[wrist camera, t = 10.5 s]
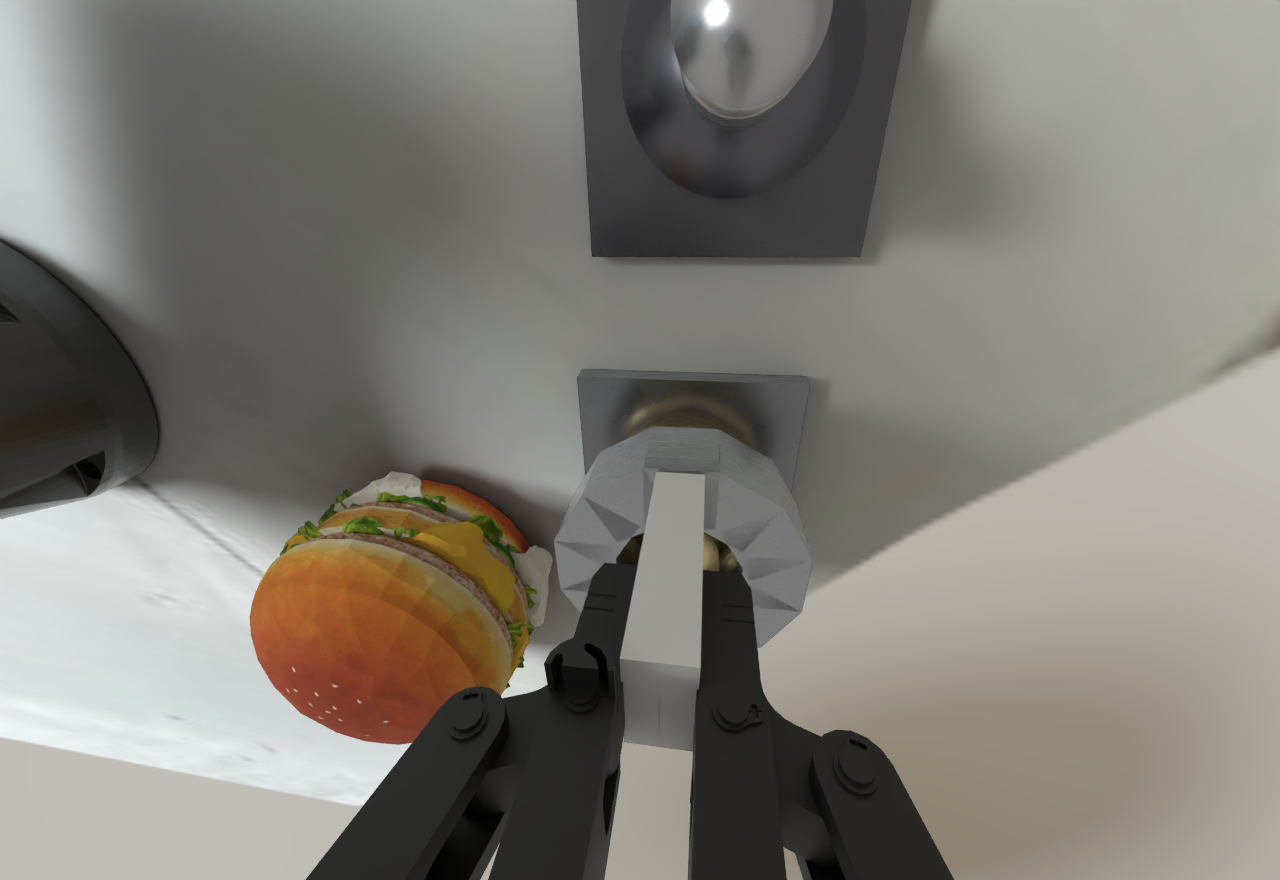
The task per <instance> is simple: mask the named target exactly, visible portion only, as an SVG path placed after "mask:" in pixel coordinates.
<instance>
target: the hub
mask: <svg viewBox="0 0 1280 880" xmlns="http://www.w3.org/2000/svg"><path fill="white" fill-rule="evenodd" d="M577 382H578V394H579V406H580V418H581V430H582V442H583V454H584V466H585V476H586V474H587V473H588V471H589V469H590V468H591V466H592V465H593V463H594V461H595V460H596V458H597V456H598V455H599V453H600V451H602V450H604V449H606V448H608V447H611V446H613V445H615V444H617V443H619V442H621V441H623V440H625V439H627V438H630V437H632V436H634V435H636V434H638V433H640V432H642V431H644V430H647V429H649V428H651V427H654V426H660V427H681V428H702V429H718V430H721V431H723V432H724V433H726V434H728V435H729V436H731V437H733V438H735V439H736V440H738V441H740V442H742V443H743V444H745V445H747V446H749V447H750V448H752V449H754V450H755V451H757V452H759V453H761V454H762V455H764V456H766V457H768V458H769V459H771V460H773V462H774V463H775V465H776V467H777V469H778V471H779V473H780V475H781V477H782V479H783V480H784V482H785V484H786V486H787V488H788V490H789V492H790V494H791V492H792V486H793V480H794V474H795V469H796V463H797V457H798V451H799V445H800V439H801V434H802V428H803V422H804V416H805V410H806V404H807V398H808V393H809V387H810V384H809V382H808V380H807V378H806V376H779V375H749V374H719V373H688V372H658V371H628V370H598V369H582V370H581V372H580V373H579V375H578V376H577ZM643 537H644V533H641V534H639V535H636V536H634V538H635V540H636V541H637V543H638V544H639V545H640V547H642V542H643ZM728 548H729V546H728V545H727V544H725V543H723V542H722V541H720V540H718V539H716V538H714V537H712V536H711V535H709V534H707V533H705V532H704V538H703V570H709V571H719V557H720V556H721V555H722V554H723V553H724V552H725V551H726V550H727V549H728ZM640 552H641V548H640ZM639 557H640V553H639ZM638 563H639V558H638Z"/></svg>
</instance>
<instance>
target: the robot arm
mask: <svg viewBox="0 0 1280 880" xmlns="http://www.w3.org/2000/svg"><path fill="white" fill-rule="evenodd" d="M157 443H158V428H157V421H156V416H155V412H154V408H153V405H152V402H151V399H150V397H149V394H148V392H147V390H146V387H145V385H144V383H143V381H142V379H141V377H140V375H139V374H138V372H137V370H136V368H135V367H134V365H133V363H132V362H131V360H130V359H129V357H128V356H127V354H126V353H125V351H124V350H123V349H122V347H121V346H120V344H119V343H118V342H117V340H116V339H115V338H114V337H113V335H112V334H111V333H110V332H109V330H108V329H107V328H106V327H105V326H104V325H103V323H102V322H101V321H100V320H99V319H98V318H97V317H96V316H95V315H94V314H93V312H92V311H91V310H90V309H89V308H88V307H87V306H86V305H85V304H84V303H83V302H82V301H81V300H79V299H78V298H77V297H76V296H75V295H74V294H73V293H72V292H71V291H70V290H69V289H67V288H66V287H65V286H64V285H63V284H62V283H60V282H59V281H58V280H57V279H55V278H54V277H53V276H52V275H50V274H49V273H48V272H46V271H45V270H44V269H42V268H41V267H40V266H38V265H37V264H35V263H34V262H32V261H31V260H29V259H28V258H26V257H25V256H23V255H22V254H20V253H18V252H17V251H15V250H14V249H12V248H10V247H8V246H7V245H5V244H3V243H1V242H0V519H2V518H7V517H11V516H15V515H20V514H24V513H28V512H33V511H37V510H41V509H46V508H50V507H54V506H59V505H63V504H67V503H72V502H76V501H80V500H85V499H87V498H90V497H93V496H96V495H99V494H101V493H103V492H105V491H107V490H109V489H111V488H113V487H115V486H117V485H119V484H121V483H123V482H125V481H127V480H129V479H131V478H133V477H135V476H137V475H139V474H140V473H142V472H143V471H144V470H145V469H146V468H147V467H148V466H149V465H150V463H151V461H152V460H153V458H154V455H155V452H156V449H157ZM704 494H705V475H704V474H687V473H671V472H656V476H655V481H654V486H653V491H652V496H651V501H650V506H649V511H648V517H647V522H646V527H645V532H644V537H643V542H642V547H641V552H640V557H639V563H638V566H637V565H626V564H614V563H604V564H603V565H602V566H601V567H600V569H599V570H598V571H597V572H596V573H595V574H594V575H593V577H592V580H591V583H590V586H589V590H588V593H587V596H586V599H585V603H584V606H583V610H582V612H581V616H580V619H579V622H578V625H577V629H576V632H575V635H574V638H572V639H570V640H567V641H565V642H562V643H561V644H559V645H558V646H557V647H556V648H555V649H553V650H552V651H551V652H550V654H549V656H548V657H547V659H546V661H545V663H544V666H545V672H546V677H547V683H548V685H547V686H545V687H543V688H541V689H539V690H537V691H534V692H530V693H527V694H522V695H517V696H512V697H507V698H503V699H502V698H501V696H500V694H498V693H497V692H496V691H494V690H493V689H492V688H488V687H482V686H476V687H471V688H466V689H464V690H462V691H460V692H458V693H456V694H455V695H453V696H451V697H450V698H449V699H448V700H447V701H446V702H445V703H444V704H443V705H442V706H441V707H440V708H439V709H438V711H437V712H436V713H435V715H434V716H433V717H432V718H431V720H430V721H429V722H428V724H427V725H426V726H425V727H424V729H423V730H422V731H421V732H420V734H419V735H418V736H417V738H416V739H415V740H414V741H413V743H412V744H411V745H410V747H409V748H408V749H407V750H406V752H405V753H404V754H403V756H402V757H401V758H400V759H399V761H398V762H397V763H396V765H395V766H394V767H393V768H392V770H391V771H390V772H389V773H388V775H387V776H386V777H385V779H384V780H383V781H382V782H381V784H380V785H379V786H378V788H377V789H376V790H375V791H374V793H373V794H372V795H371V797H370V798H369V799H368V800H367V802H366V803H365V804H364V806H363V807H362V808H361V809H360V811H359V812H358V813H357V815H356V816H355V817H354V818H353V820H352V821H351V822H350V823H349V825H348V826H347V827H346V829H345V830H344V832H343V833H342V834H341V835H340V836H339V838H338V839H337V840H336V841H335V843H334V844H333V846H332V847H331V848H330V849H329V851H328V852H327V853H326V854H325V856H324V857H323V858H322V859H321V861H320V862H319V863H318V865H317V866H316V867H315V868H314V870H313V871H312V872H311V874H310V875H309V876H308V877H307V879H306V880H480V879H481V877H482V875H483V873H484V871H485V869H486V868H487V865H488V864H489V862H490V860H491V858H492V856H493V854H494V852H495V851H496V849H497V847H498V845H499V843H500V845H499V848H498V851H497V854H496V857H495V860H494V864H493V866H492V869H491V873H490V876H489V879H488V880H604V878H605V870H606V864H607V858H608V852H609V845H610V838H611V832H612V825H613V819H614V812H615V806H616V799H617V793H618V785H619V779H620V754H621V748H622V742H623V736H624V742H627V743H634V744H642V745H650V746H657V747H665V748H671V749H679V750H686V751H693V765H692V782H691V795H690V803H691V806H690V807H691V808H690V834H689V861H688V880H787V878H786V869H785V860H784V852H783V851H784V850H783V847H785V848H787V849H788V850H790V851H792V852H794V853H795V854H796V857H797V860H798V864H799V867H800V870H801V873H802V876H803V879H804V880H954V879H953V877H952V875H951V873H950V871H949V869H948V867H947V866H946V864H945V862H944V860H943V858H942V856H941V854H940V852H939V851H938V849H937V847H936V845H935V843H934V841H933V839H932V837H931V836H930V834H929V832H928V830H927V828H926V826H925V824H924V822H923V821H922V819H921V817H920V815H919V813H918V811H917V809H916V808H915V806H914V804H913V802H912V800H911V798H910V796H909V794H908V793H907V791H906V789H905V787H904V785H903V783H902V781H901V779H900V778H899V776H898V774H897V772H896V770H895V768H894V766H893V765H892V763H891V762H890V761H889V759H888V758H887V756H886V755H885V754H884V752H883V751H882V750H881V749H880V748H879V747H878V746H876V745H875V744H874V743H873V742H871V741H870V740H869V739H868V738H866V737H864V736H861V735H859V734H857V733H855V732H852V731H846V730H834V731H831V732H829V733H826V734H824V735H823V736H822V737H821V736H818V735H816V734H814V733H812V732H809V731H807V730H805V729H803V728H801V727H799V726H796V725H794V724H793V723H791V722H789V721H788V720H786V719H784V718H783V717H782V716H781V715H780V714H778V713H777V712H776V711H775V710H774V709H773V707H772V706H771V705H770V703H769V702H768V701H767V699H766V697H765V695H764V692H763V689H762V685H761V680H760V670H759V661H758V650H757V640H756V630H755V620H754V611H753V600H752V590H751V588H750V586H749V585H748V583H747V581H746V580H745V578H744V576H743V575H742V573H733V572H721V571H709V570H703V538H704Z"/></svg>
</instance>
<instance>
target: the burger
mask: <svg viewBox="0 0 1280 880" xmlns="http://www.w3.org/2000/svg"><path fill="white" fill-rule="evenodd" d="M318 522H319V526H318V527H316V526H315V525H313V524H312V523H311V522H310V521H308V522H305V526H303V527H300V528H298V532H297V533H296V534H295V535H294V536H293V537H292V538H291V539H290V540H289V541H287V542H286V543H285V546H284V549H283V550H282V552H281V553H280V557H278V558H277V559H276V560H275V561H274V562H273V563H272V564H271V565H270V567H269V568H268V570H267V572H266V573H265V575H264V577H263V578H262V580H261V581H260V583H259V586H258V588H257V591H256V593H255V596H254V599H253V602H252V607H251V613H250V627H251V637H252V640H253V644H254V647H255V651H256V654H257V658H258V661H259V662H260V664H261V666H262V667H263V669H264V671H265V672H266V674H267V676H268V677H269V679H270V681H271V682H272V684H273V685H274V687H275V688H276V689H277V690H278V691H279V692H280V693H281V694H282V695H283V696H284V697H285V698H286V699H287V700H288V701H289V702H290V703H291V704H292V705H293V706H294V707H295V708H296V709H297V710H298V711H299V712H300V713H301V714H303V715H305V716H307V717H309V718H311V719H313V720H314V721H316V722H318V723H320V724H322V725H324V726H326V727H328V728H329V729H331V730H333V731H335V732H337V733H340V734H343V735H347V736H350V737H353V738H357V739H360V740H363V741H369V742H377V743H386V744H398V745H399V744H406V743H413V741H414V740H415V739H416V738H417V736H418V735H419V734H420V732H421V731H422V730H423V729H424V727H425V726H426V725H427V724H428V722H429V721H430V720H431V718H432V717H433V716H434V715H435V713H436V712H437V711H438V709H439V708H440V707H441V706H442V705H443V704H444V703H445V702H446V701H447V700H448V699H449V698H450V697H451V696H453V695H455V694H456V693H458V692H460V691H462V690H464V689H466V688H471V687H476V686H482V687H488V688H492V689H493V690H494V691H496V692H497V693H498V694H500V696H501V694H502V693H503V691H504V690H505V689H506V688H508V687H510V685H509V683H508V681H509V679H510V678H511V677H512V675H513V673H514V671H515V669H516V668H523V667H524V665H523V661H525V660H524V658H523V654H524V650H525V648H526V646H527V645H528V643H529V641H530V638H529V635H530V634H531V633H532V631H533V630H534V628H539V627H540V626H541V625H542V624H543V623H544V617H545V613H546V605H547V599H548V593H549V587H548V578H549V574H550V570H551V567H552V557H551V555H550V553H549V552H548V551H547V550H546V549H544V548H539V547H537V546H536V545H535V546H532V547H529V545H528V543H527V541H526V539H525V537H524V536H523V534H522V533H521V532H520V531H519V530H518V529H517V527H516V526H515V525H514V524H513V523H512V521H511V520H510V519H509V518H508V517H507V516H506V515H504V514H503V513H502V512H501V511H499V510H498V509H497V508H496V507H494V506H493V505H492V504H491V503H489V502H488V501H486V500H484V499H482V498H480V497H478V496H476V495H474V494H472V493H470V492H468V491H466V490H464V489H462V488H460V487H458V486H453V485H449V484H444V483H440V482H435V481H431V480H420V479H419V478H417V477H416V476H414V475H413V474H406V473H399V472H393V471H391V472H390V473H389V474H388V475H387V476H386V477H384V478H381V479H378V480H374V481H372V482H371V483H370V484H369V485H368V486H366V487H365V488H363V489H362V490H360V491H358V492H355V493H353V494H351V493H350V492H349V491H348V490H345V491H343V495H340V496H337V498H336V505H334V504H332V505H331V506H330V508H329V509H328V510H327V511H326V512H325V514H324V515H323V516H322V517H321V519H320V520H319V521H318Z"/></svg>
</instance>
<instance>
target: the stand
mask: <svg viewBox="0 0 1280 880" xmlns="http://www.w3.org/2000/svg"><path fill="white" fill-rule="evenodd" d="M910 4H911V0H577V15H578V32H579V48H580V65H581V82H582V99H583V116H584V133H585V149H586V166H587V183H588V200H589V217H590V234H591V250H592V257H860V256H861V251H862V246H863V241H864V236H865V231H866V226H867V221H868V216H869V211H870V206H871V201H872V196H873V191H874V186H875V181H876V176H877V171H878V165H879V160H880V155H881V150H882V145H883V140H884V135H885V130H886V125H887V120H888V115H889V110H890V105H891V100H892V95H893V90H894V85H895V80H896V75H897V70H898V65H899V60H900V55H901V50H902V45H903V40H904V35H905V30H906V24H907V19H908V14H909V9H910Z"/></svg>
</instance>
